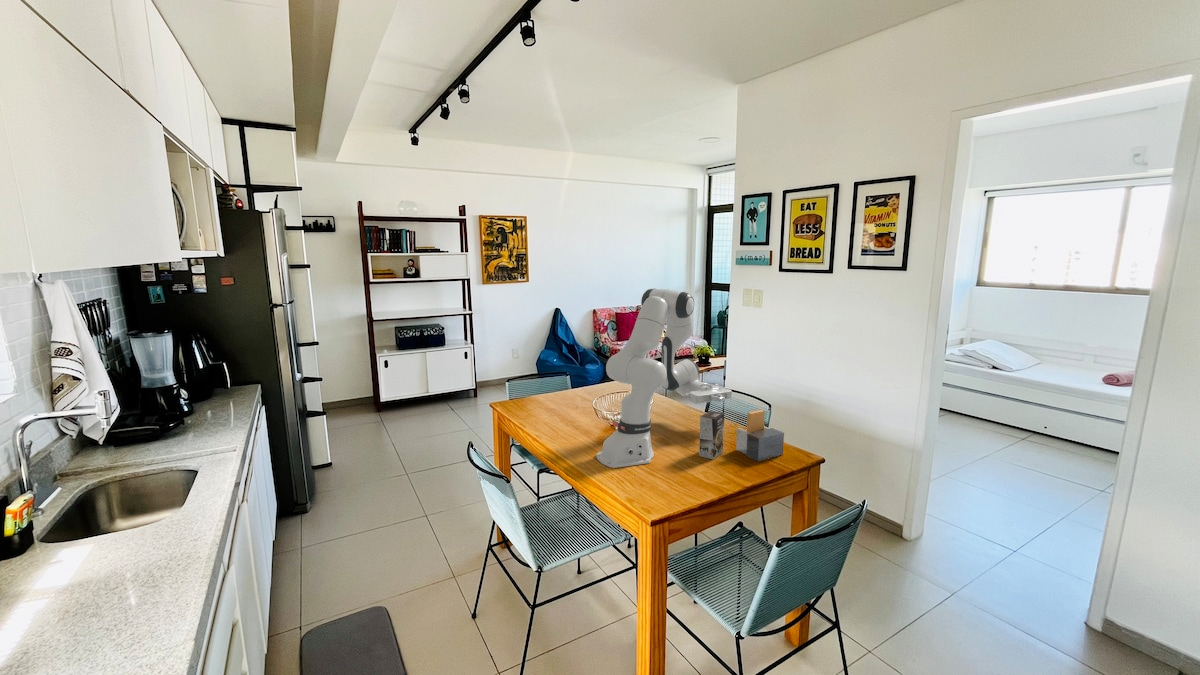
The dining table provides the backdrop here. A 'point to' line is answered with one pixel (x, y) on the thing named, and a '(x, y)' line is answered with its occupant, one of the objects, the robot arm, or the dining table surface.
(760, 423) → the breaker paddle
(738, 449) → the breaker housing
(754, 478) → the dining table surface
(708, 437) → the coffee box
